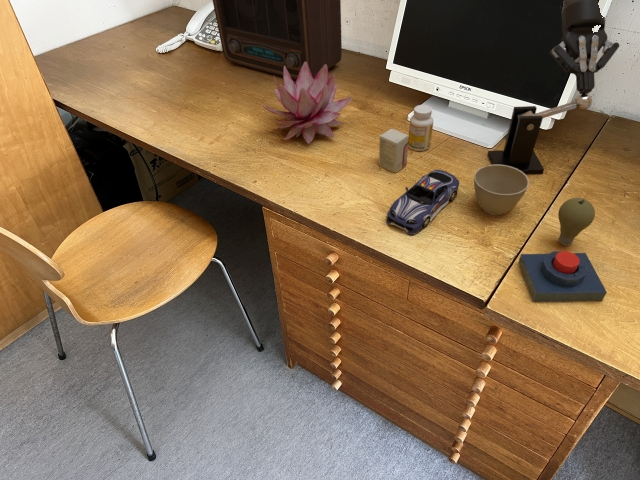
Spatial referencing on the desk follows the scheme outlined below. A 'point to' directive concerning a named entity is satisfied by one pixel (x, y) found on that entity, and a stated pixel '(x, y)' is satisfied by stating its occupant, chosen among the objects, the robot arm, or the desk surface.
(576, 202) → the light bulb
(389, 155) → the small box
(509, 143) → the black lever stand
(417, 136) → the supplement bottle
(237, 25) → the radio
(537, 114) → the grey rod with ball
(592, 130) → the desk surface
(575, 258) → the button
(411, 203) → the toy car
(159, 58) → the desk surface
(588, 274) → the control block
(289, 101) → the decorative flower
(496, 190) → the beige bowl
